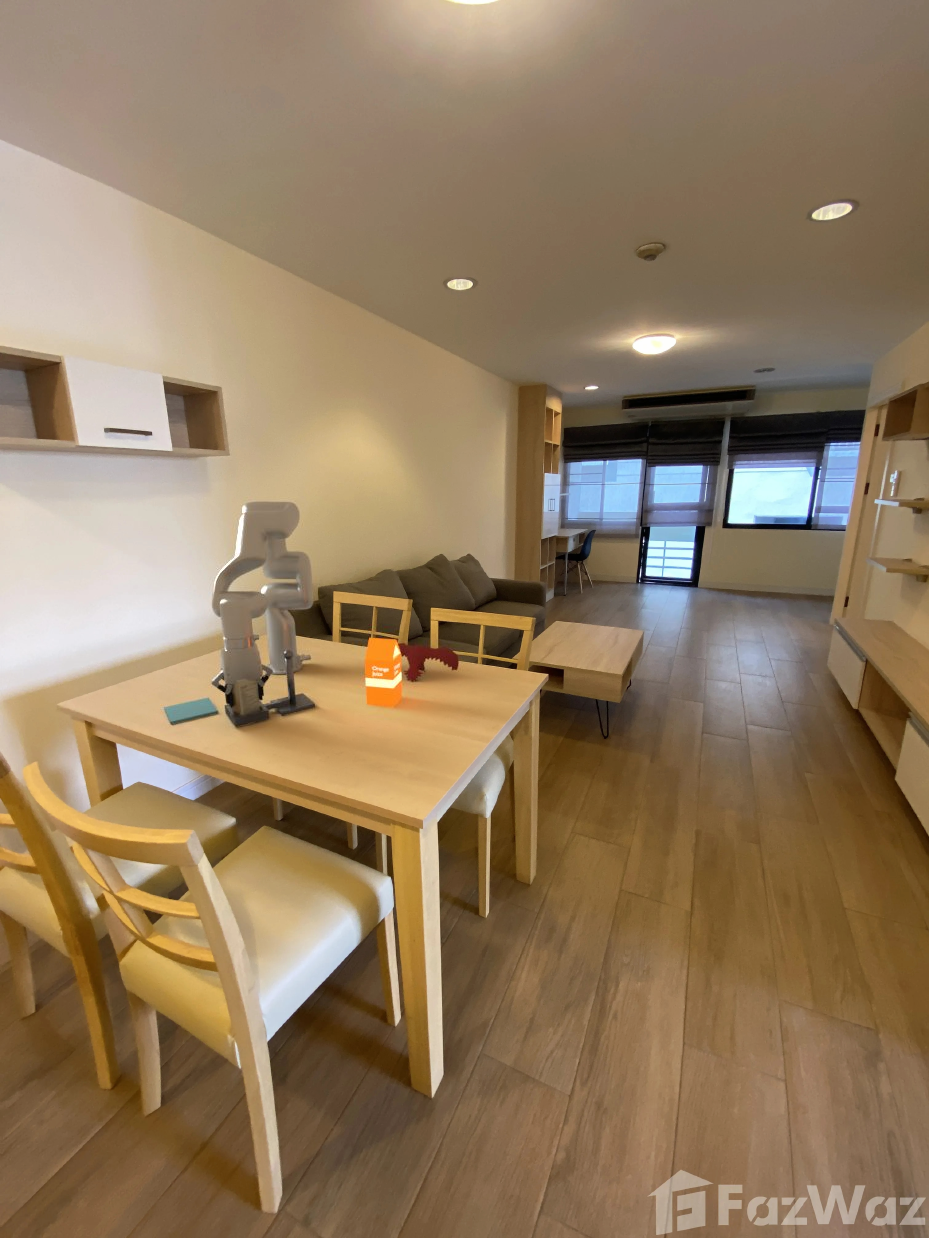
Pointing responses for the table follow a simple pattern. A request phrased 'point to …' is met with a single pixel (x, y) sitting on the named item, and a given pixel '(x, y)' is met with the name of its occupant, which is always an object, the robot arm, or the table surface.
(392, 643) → the orange juice
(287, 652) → the ring stand
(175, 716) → the teal mat
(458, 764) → the table surface
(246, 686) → the skincare box
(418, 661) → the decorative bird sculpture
